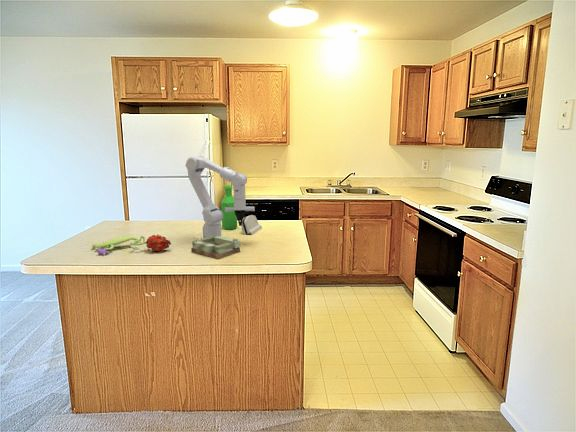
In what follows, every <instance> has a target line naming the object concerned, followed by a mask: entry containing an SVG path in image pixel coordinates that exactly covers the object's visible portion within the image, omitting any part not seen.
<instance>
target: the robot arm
mask: <svg viewBox="0 0 576 432" xmlns="http://www.w3.org/2000/svg"><path fill="white" fill-rule="evenodd" d="M185 167H186V170H187V175H188V180H189V181H190V183H191V186H192V188H193V189H194V192H195V193H196V196H197V198H198V200H199V201H200V204H201V207H202V208H203V209H202V212H201V214H202V216H203V221H204V224H203V226H202V238H206V237H209V236H221V237H222V219H223V213H222V211H221V209H220V208H219V206H217V204H214V202H213V200H212V198H211V196H210V193H209V191H208V190H207V187H206V186H205V183H204V181H203V180H202V178H201V175H202V173H203V171H205V169H208V170H211V171H212V172H214V173H217V174H219V176H220V178H222V179H224V180H225V181H227V182H229V183H231V186H232V190H233V197H234V207H225V212H230V211H235V215H236V217H237V224H238V226H239V227H241V226H242V221H243V218H245V215H246V214H247V213H246V212H255V211H256V210H255V208H256V207H255V206H246V205H247V204H246V202H247V201H246V200H247V199H246V184H247V182H248V177H247V175H245V174H244V173H239V172H238V171H235V170H233V169H231V167H230V166H223V167H222V166H220V165H218V164H217V163H216V162H213V161H212V160H210V158H208V157H205V156H202V155H200V156H193V157H192V156H191V157H188V158H187V160H186V162H185Z"/></svg>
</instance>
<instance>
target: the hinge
mask: <svg viewBox="0 0 576 432" xmlns="http://www.w3.org/2000/svg"><path fill="white" fill-rule="evenodd" d="M240 227H241V230H242V233H243V235H247V234H250V235H251V236H254V235H255V234H256V233H258V232H259V231H260V230H262V228H263V227H262V225H261V224H259V221H258V219H257V217H256V215H253V214H250V215H248V216H244V218H243V221H242V226H240Z"/></svg>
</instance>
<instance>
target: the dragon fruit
mask: <svg viewBox="0 0 576 432" xmlns="http://www.w3.org/2000/svg"><path fill="white" fill-rule="evenodd" d="M145 241H146V244H145V246H146V248H147V249H151V250H152V251H153V252H154V253H155V252H156V251H157V252H163V253H164V252H166V251H167V250H166V249H169V248H170V245H172V243H171V240H169V239H167V238H166V237H165V236H162V235H160V234H157V235H155V234H152V235H150V236H148V238H146V240H145Z"/></svg>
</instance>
